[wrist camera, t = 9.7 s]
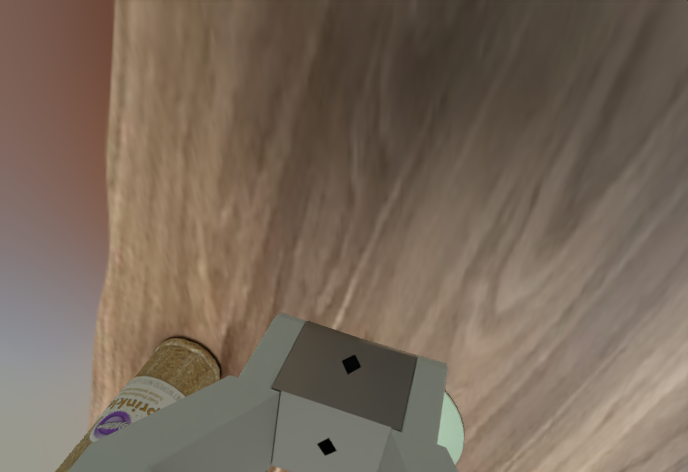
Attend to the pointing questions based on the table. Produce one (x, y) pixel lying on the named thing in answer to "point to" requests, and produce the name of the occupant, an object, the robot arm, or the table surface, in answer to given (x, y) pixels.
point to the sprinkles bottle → (153, 390)
